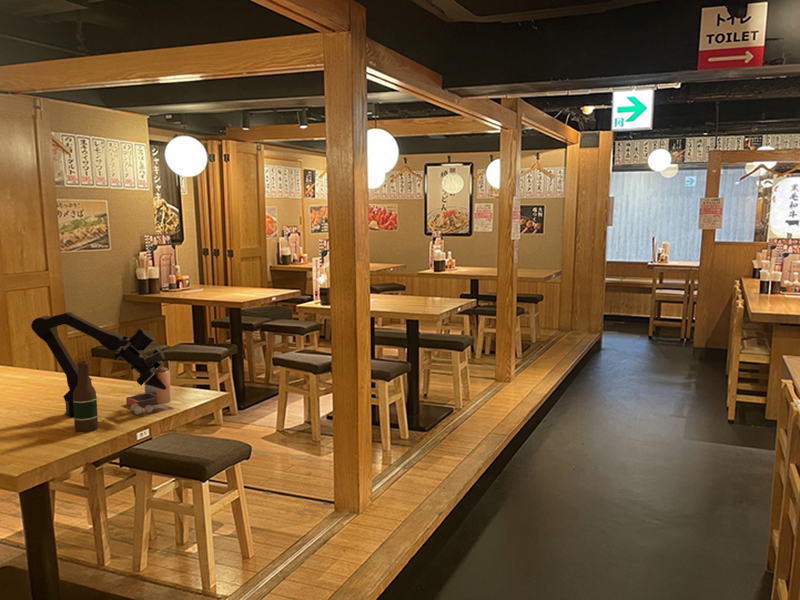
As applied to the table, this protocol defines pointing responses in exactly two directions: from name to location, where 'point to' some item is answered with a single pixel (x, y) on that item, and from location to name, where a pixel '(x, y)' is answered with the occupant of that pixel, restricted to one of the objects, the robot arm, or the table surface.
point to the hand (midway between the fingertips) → (166, 387)
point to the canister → (164, 376)
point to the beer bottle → (84, 401)
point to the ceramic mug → (150, 389)
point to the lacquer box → (142, 400)
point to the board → (154, 409)
